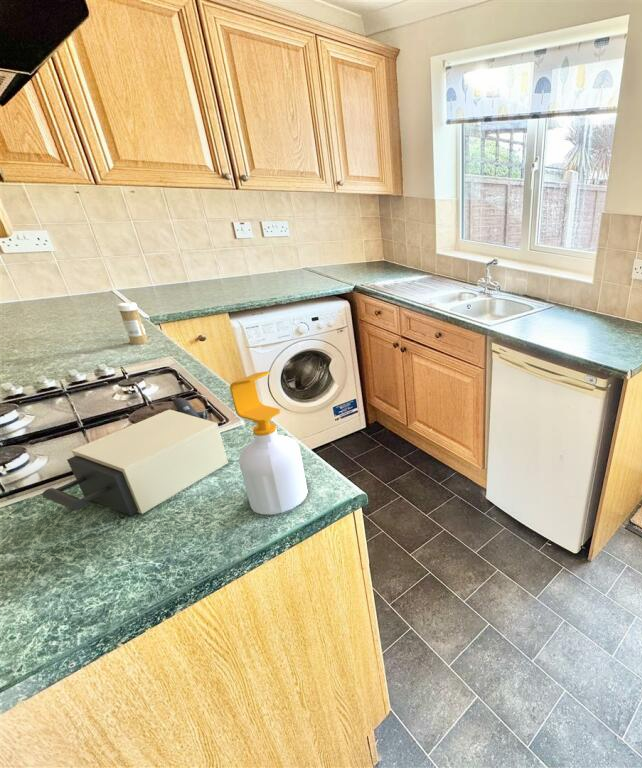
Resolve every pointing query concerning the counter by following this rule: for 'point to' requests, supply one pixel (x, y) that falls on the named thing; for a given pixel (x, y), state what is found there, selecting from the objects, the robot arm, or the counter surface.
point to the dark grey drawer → (95, 487)
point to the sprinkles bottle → (132, 323)
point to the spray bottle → (267, 455)
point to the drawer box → (160, 455)
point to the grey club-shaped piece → (189, 408)
